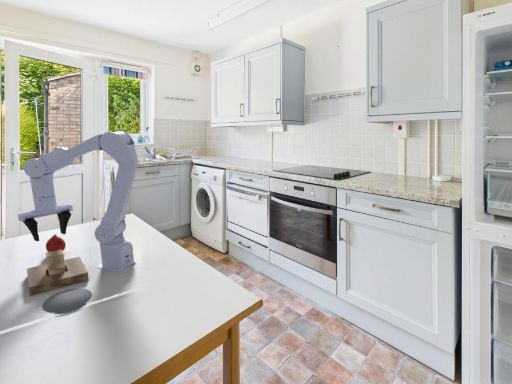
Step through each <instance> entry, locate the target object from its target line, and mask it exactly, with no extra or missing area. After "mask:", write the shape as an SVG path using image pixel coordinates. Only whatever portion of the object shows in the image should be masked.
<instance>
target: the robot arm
mask: <svg viewBox="0 0 512 384" xmlns="http://www.w3.org/2000/svg"><path fill="white" fill-rule="evenodd" d="M135 143H136V142H135V141H134V139H133V138H132V137H131V135H130V134H129V133H127V132H126V131H106V132H104V133H101V134H96V135H94V136H92V137H89V138H87V139H86V140H83V141H82V142H80V143H77V144H75V145H73V146H71V147H69V148H68V147H63V146H55V147H52V151H49V152H47V153H40V154H39V157H37V158H32V157H31V158H29V159H27V160H26V161H25V162H24V164H23V171H24V173H25V174H26V176H28V177H29V180H30V187H31V193H32V200H33V205H34V210H30V211H27V212H22V213H17V219H18V221H19V222H22V223H23V224H24V225H25V227H27V229H28V231H29V232H30V233H31V235H32V238H33V241H36V242H39V241H40V237H39V231H38V221H36V219H38V218H42V217H47V216H53V215H57V219H58V222H59V230H60V233H61V234H62V235H66V234H67V227H68V223H69V221H70V219H71V217H72V213H71V212H73V211H74V210H73V205H71V204H63V205H57V197H56V192H55V191H56V190H55V186H54V185H55V184H54V173H55V172H56V171H59V170H61V169H65V168H66V167H68V166H71V165H73V164H74V162H75V159H76V158H79V157H80V156H81V157H82V156H84V155H86V154H88V153H91V152H94V151H103V152H105V153H106V154H107V155H109V157H111V158H112V159H114V161H115V163H117V165H118V169H117V172H116V176H115V178H114V183H113V185H112V186H113V187H112V189H111V190H112V191H111V194H110V198H109V201H108V205H107V208H106V212H104V214H103V217H102V218H101V220H100V223H99V225H98V226H97V227H96V228H95V230H94V238H95V239H96V240H97V242H99V248H100V256H101V257H100V260H101V263H100V264H98V265H97V266H96V267H95V268H97V269H102V270H107V271H112V272H122V271H123V270H125V269H126V268H128V267H129V266H133V264H135V263H136V262H137V261H136V260H135V257H134V248H133V244H132V243H131V242H130V241H127V240H126V239H125V236H124V232H125V231H126V229H127V228H126V227H127V224H126V217H127V216H126V214H125V212H126V208H127V204H128V200H129V198H130V195H131V191H132V187H133V183H134V180H135V176H136V173H137V170H138V167H139V158H138V156H137V151H136V148H135V147H136V146H135Z"/></svg>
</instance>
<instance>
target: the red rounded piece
mask: <svg viewBox="0 0 512 384" xmlns="http://www.w3.org/2000/svg"><path fill="white" fill-rule="evenodd" d="M61 249H62V252H63V251H65V249H66V241H65V240H64V239H63V238H62V237H59V236H58V235H57V234H53V235H52V236H51V237H50V238H49V239H48V240H47V242H46V244H45V250H46V252H52V251H57V250H61Z"/></svg>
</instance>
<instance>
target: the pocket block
mask: <svg viewBox="0 0 512 384" xmlns="http://www.w3.org/2000/svg"><path fill="white" fill-rule="evenodd" d="M64 262H65V269H66V272H63V273H59V274H55V275H51V276H49V272H48V265H47V263H46V264H41V265H36V266H32V267H28V268H26V274H27V280H28V281H27V283H28V284H27V285H28V289H29V296H30V297H32V296H36V295H40V294H43V293H44V294H45V293H47V292H51V291H54V290H58V289H62V288H65V287H69V286H73V285H76V284H79V283H80V284H81V283H84V282H87V281H90V278H89V272H88V270H87V268H86V266H85V264H84V262H83V261H82V258H81V257H80V256H76V257H72V258H68V259H67V258H66V259H64Z"/></svg>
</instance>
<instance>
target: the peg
mask: <svg viewBox="0 0 512 384" xmlns="http://www.w3.org/2000/svg"><path fill="white" fill-rule="evenodd" d="M64 255H65V254H64V252H63V251H62V249H61V250H57V251H52V252H48V251H46V252H45V256H46V258H45V259H46V264H47V265H48V272H49V276H51V275H55V274H59V273H63V272H66V269H65V262H64V260H65V256H64Z"/></svg>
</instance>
